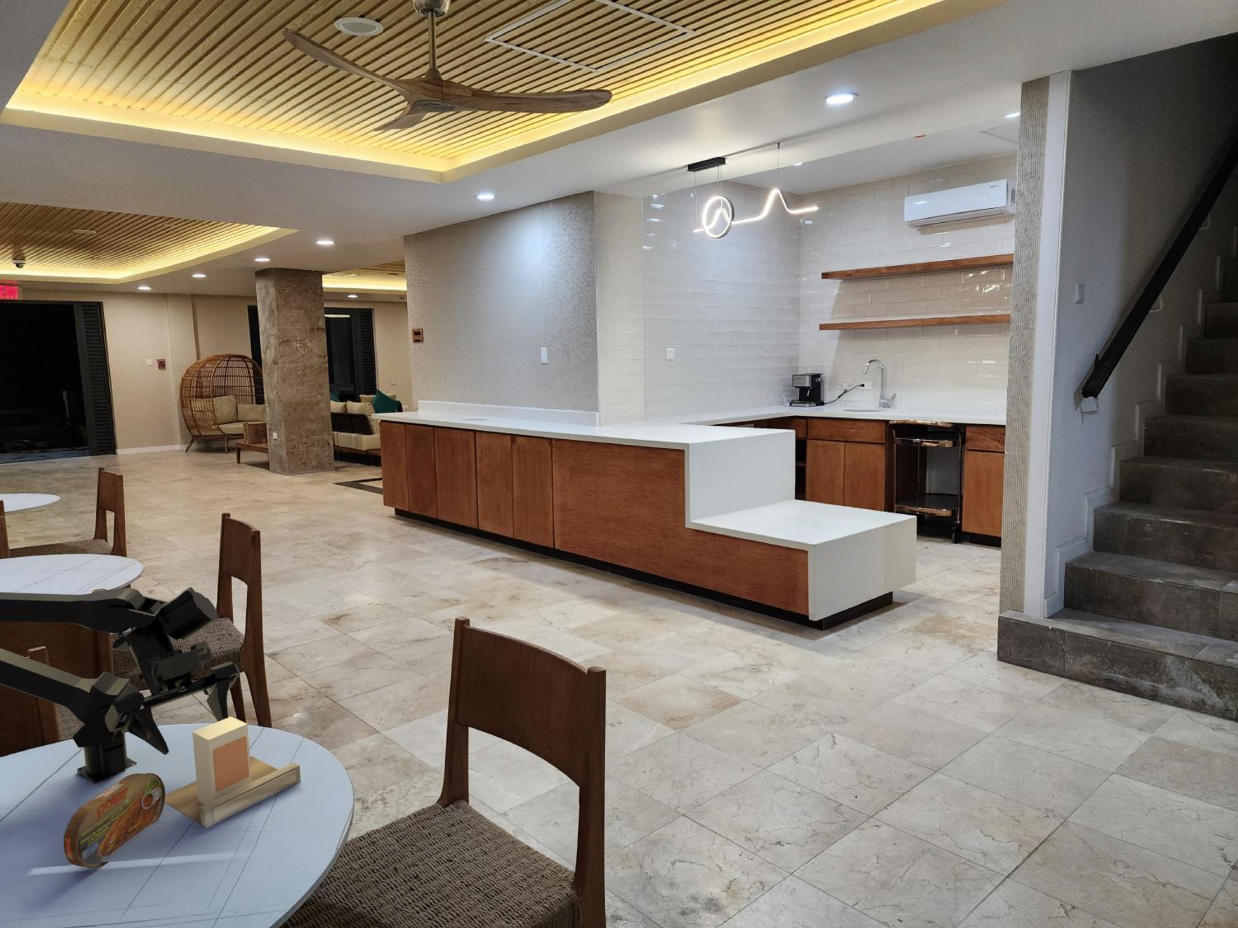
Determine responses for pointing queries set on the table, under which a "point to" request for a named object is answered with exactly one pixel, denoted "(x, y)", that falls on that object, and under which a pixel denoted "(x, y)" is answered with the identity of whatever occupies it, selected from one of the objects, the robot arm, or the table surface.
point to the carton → (221, 759)
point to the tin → (113, 819)
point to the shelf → (235, 793)
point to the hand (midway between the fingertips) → (197, 741)
